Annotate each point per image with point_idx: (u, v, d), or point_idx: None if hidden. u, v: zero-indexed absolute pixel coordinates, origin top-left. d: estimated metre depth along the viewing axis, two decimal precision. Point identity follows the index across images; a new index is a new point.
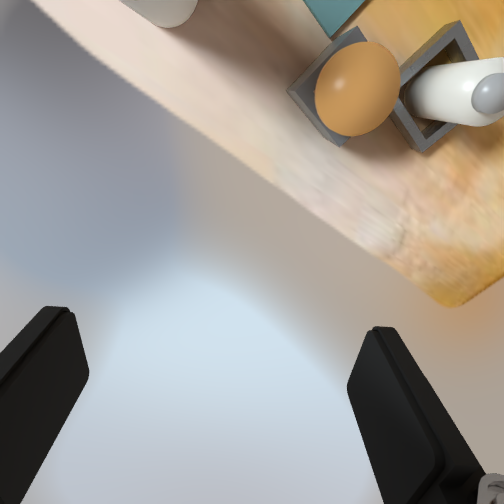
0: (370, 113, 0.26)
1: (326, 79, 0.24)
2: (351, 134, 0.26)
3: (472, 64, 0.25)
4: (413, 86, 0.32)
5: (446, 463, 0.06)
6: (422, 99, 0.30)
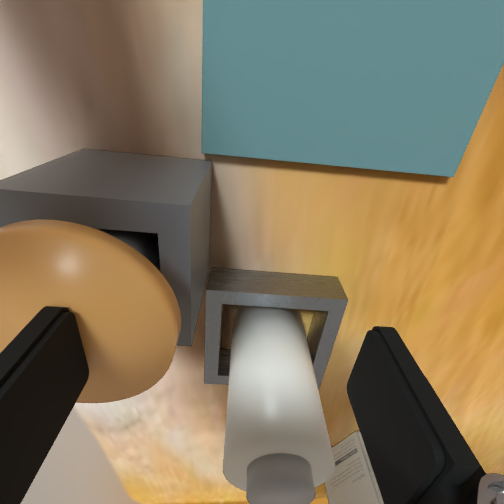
0: None
1: None
2: None
3: (295, 410, 0.13)
4: (251, 310, 0.20)
5: (446, 463, 0.06)
6: (237, 349, 0.18)
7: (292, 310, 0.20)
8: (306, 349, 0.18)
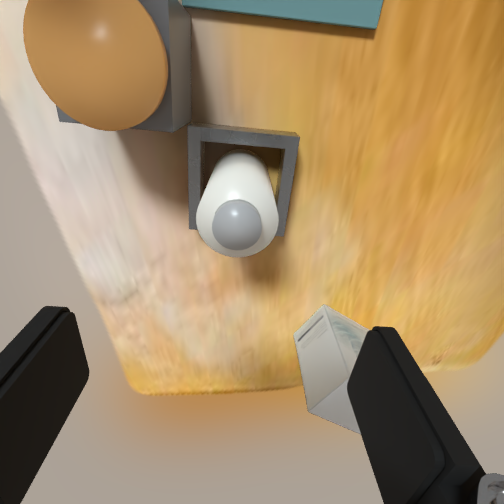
0: (98, 103, 0.16)
1: None
2: (59, 104, 0.16)
3: (249, 177, 0.18)
4: (225, 156, 0.25)
5: (446, 463, 0.06)
6: (212, 173, 0.23)
7: (259, 159, 0.25)
8: (266, 174, 0.23)
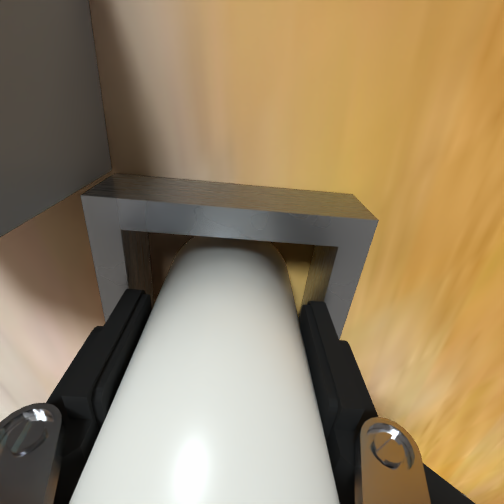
0: None
1: None
2: None
3: (245, 489, 0.04)
4: (192, 253, 0.10)
5: (338, 409, 0.07)
6: (148, 322, 0.08)
7: (269, 256, 0.11)
8: (293, 322, 0.09)
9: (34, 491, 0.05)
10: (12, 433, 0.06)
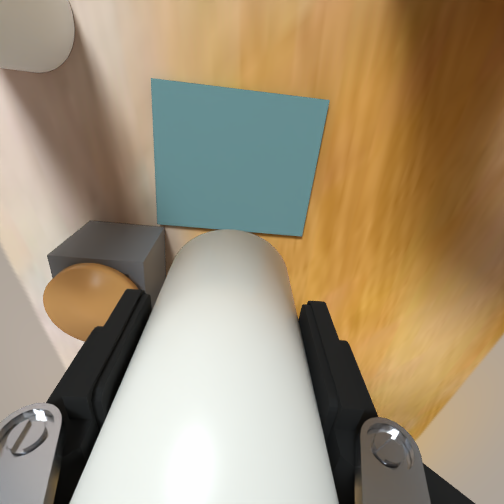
0: None
1: (67, 278, 0.21)
2: (65, 331, 0.23)
3: (244, 494, 0.04)
4: (191, 255, 0.10)
5: (338, 408, 0.07)
6: (147, 324, 0.08)
7: (269, 257, 0.11)
8: (293, 323, 0.09)
9: (34, 491, 0.05)
10: (12, 433, 0.06)
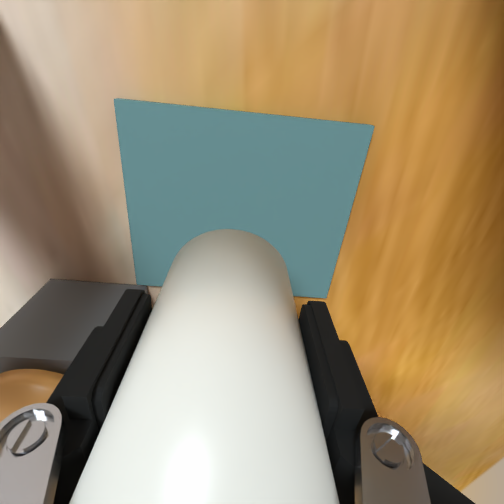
0: None
1: None
2: None
3: (245, 495, 0.04)
4: (191, 255, 0.10)
5: (338, 409, 0.07)
6: (147, 324, 0.08)
7: (269, 257, 0.11)
8: (293, 323, 0.09)
9: (34, 491, 0.05)
10: (12, 433, 0.06)
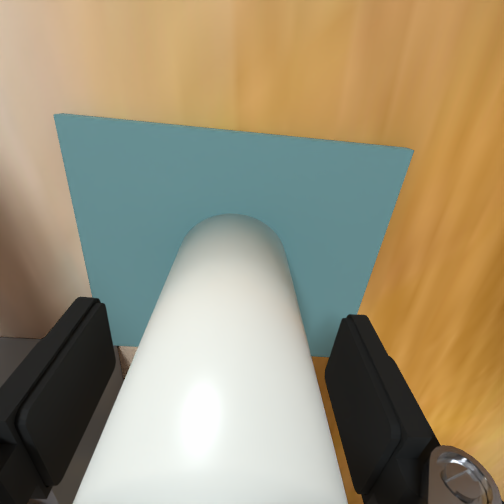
0: None
1: None
2: None
3: (252, 391, 0.05)
4: (199, 234, 0.12)
5: (401, 436, 0.06)
6: (163, 290, 0.10)
7: (269, 237, 0.12)
8: (290, 290, 0.10)
9: None
10: None
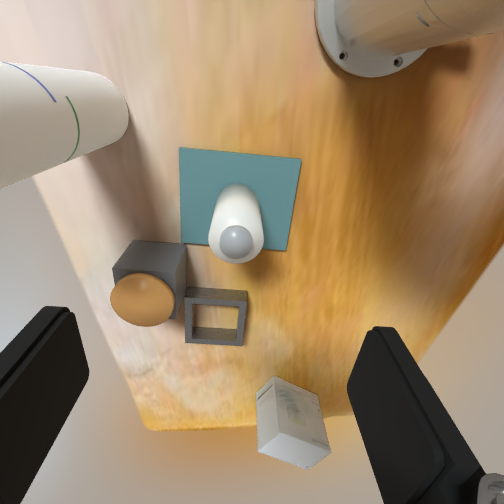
0: (141, 317, 0.34)
1: (127, 284, 0.32)
2: (123, 318, 0.34)
3: (244, 210, 0.27)
4: (227, 189, 0.34)
5: (446, 463, 0.06)
6: (217, 203, 0.32)
7: (251, 190, 0.34)
8: (256, 204, 0.32)
9: None
10: None
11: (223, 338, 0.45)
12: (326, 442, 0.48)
